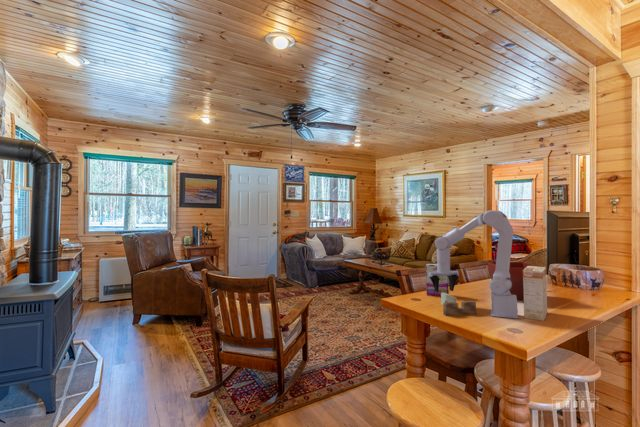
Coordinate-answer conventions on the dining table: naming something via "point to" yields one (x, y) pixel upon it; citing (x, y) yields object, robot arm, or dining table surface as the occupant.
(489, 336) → the dining table surface
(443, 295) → the sage plate
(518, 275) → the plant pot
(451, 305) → the base plate
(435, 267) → the candy bar box
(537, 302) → the coffeecake box
